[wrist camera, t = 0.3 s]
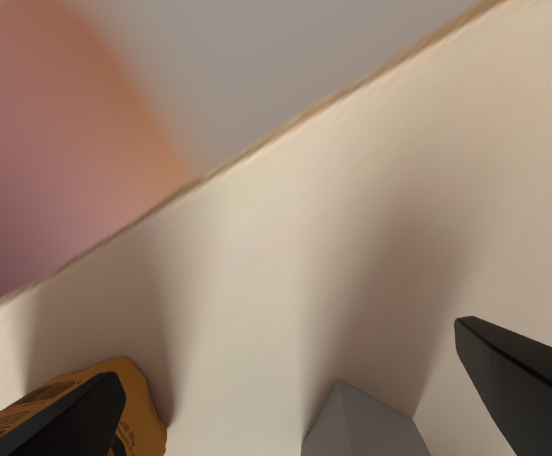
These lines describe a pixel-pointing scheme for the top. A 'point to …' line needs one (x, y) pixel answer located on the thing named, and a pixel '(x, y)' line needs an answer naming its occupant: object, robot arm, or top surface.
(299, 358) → the top surface
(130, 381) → the coffee package
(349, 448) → the grey rectangular pillar
